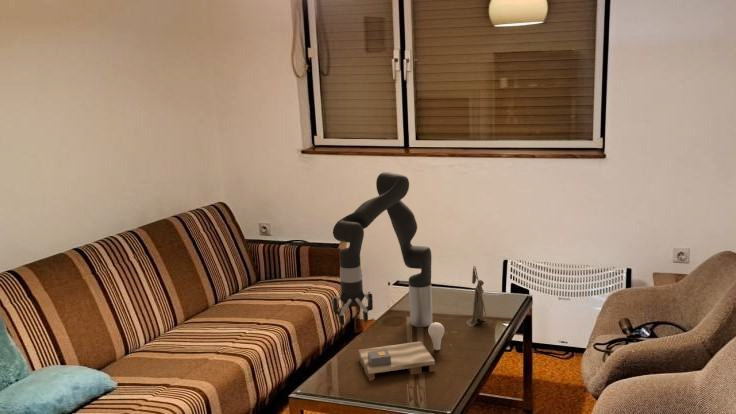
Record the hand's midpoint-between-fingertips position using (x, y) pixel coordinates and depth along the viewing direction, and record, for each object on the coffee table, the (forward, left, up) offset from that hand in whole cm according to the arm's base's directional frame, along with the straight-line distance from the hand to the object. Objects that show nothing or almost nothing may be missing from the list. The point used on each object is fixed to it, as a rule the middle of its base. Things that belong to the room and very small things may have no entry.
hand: (353, 323), depth 249 cm
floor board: (-4, +15, -20) cm, 25 cm away
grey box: (0, +8, -16) cm, 18 cm away
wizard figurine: (-33, +57, -20) cm, 69 cm away
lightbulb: (-12, +33, -20) cm, 41 cm away
